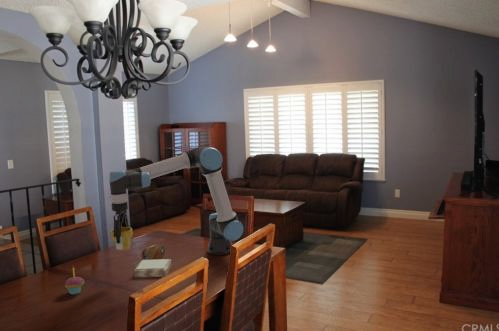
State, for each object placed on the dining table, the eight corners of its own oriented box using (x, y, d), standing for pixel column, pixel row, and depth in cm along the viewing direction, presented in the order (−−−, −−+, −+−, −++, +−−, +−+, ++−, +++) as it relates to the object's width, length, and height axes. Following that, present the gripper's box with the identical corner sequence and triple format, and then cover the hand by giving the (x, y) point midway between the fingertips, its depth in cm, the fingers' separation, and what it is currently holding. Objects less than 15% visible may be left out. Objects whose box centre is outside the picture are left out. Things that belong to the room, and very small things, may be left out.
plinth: (171, 265, 235) (171, 258, 234) (165, 276, 219) (165, 268, 219) (142, 266, 235) (141, 259, 235) (134, 277, 219) (133, 269, 219)
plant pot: (107, 251, 213) (105, 231, 212) (121, 244, 222) (119, 226, 221) (125, 252, 209) (123, 232, 208) (137, 246, 218) (136, 227, 217)
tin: (144, 264, 238) (143, 249, 237) (141, 263, 240) (140, 248, 239) (165, 257, 250) (164, 242, 249) (161, 256, 252) (161, 242, 251)
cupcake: (65, 290, 205) (63, 266, 203) (84, 287, 208) (82, 263, 207) (65, 297, 197) (63, 271, 195) (85, 293, 200) (83, 268, 199)
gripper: (118, 198, 224) (122, 239, 227) (104, 207, 202) (107, 253, 204) (133, 197, 224) (136, 239, 227) (120, 206, 201) (123, 253, 204)
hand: (122, 246), depth 215 cm, fingers closed on plant pot, 10 cm apart
